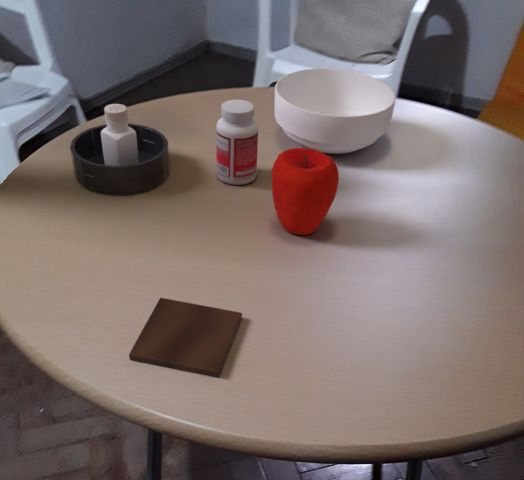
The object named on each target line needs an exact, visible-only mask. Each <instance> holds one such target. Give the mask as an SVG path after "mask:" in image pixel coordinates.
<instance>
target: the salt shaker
mask: <svg viewBox="0 0 524 480" xmlns="http://www.w3.org/2000/svg"><path fill="white" fill-rule="evenodd" d="M103 111H104V118H105V123H106V124H107V127H106V128H104V129H103V130H102V131H101V140H102V147H103V155H104V162H105V165H130V164H136V163H139V158H138V147H137V137H136V132H135V130H133V129H132V128H131V127H129V126H128V123H129V115H128V107H127V106H126V105H125V104H120V103H110V104H107V105H105V106H104V108H103Z"/></svg>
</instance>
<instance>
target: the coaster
mask: <svg viewBox="0 0 524 480" xmlns="http://www.w3.org/2000/svg"><path fill="white" fill-rule="evenodd" d="M242 319H243V313H242V312H240V311H235V310H229V309H223V308H218V307H213V306H207V305H204V304H203V305H202V304H197V303H191V302H186V301H181V300H177V299H176V300H175V299H171V298H165V297H159V299H158V301H157V302H156V305H155V306H154V308H153V310H152V311H151V314H150V315H149V317H148V319H147V321H146V323H145V325H144V326H143V328H142V330H141V331H140V334H139V335H138V337H137V339H136V341H135V342H134V344H133V346H132V348H131V350H130V352H129V354H128V357H129V360H130V361H136V362H137V361H138V362H141V363H147V364H151V365H157V366H162V367H166V368H171V369H177V370H179V371H186V372H191V373H195V374H202V375H204V376H205V375H206V376H211V377H215V378H220V375H221V373H222V370H223V368H224V365H225V362H226V361H227V357H228V355H229V352H230V349H231V347H232V344H233V342H234V339H235V337H236V334H237V331H238V330H239V329H238V328H239V327H240V323H241V322H242Z"/></svg>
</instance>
